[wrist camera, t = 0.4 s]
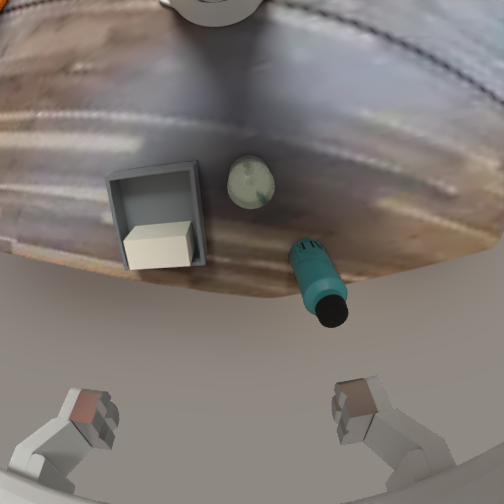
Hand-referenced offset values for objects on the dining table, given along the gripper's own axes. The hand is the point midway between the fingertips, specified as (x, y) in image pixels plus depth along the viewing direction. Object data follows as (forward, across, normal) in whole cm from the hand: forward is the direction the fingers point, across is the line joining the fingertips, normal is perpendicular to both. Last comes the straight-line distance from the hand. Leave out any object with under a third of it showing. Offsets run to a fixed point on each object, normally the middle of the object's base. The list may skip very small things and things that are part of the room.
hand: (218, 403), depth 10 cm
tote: (+43, +12, +6) cm, 45 cm away
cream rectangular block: (+42, +12, +10) cm, 45 cm away
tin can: (+43, -2, +1) cm, 43 cm away
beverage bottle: (+43, -12, +15) cm, 47 cm away
